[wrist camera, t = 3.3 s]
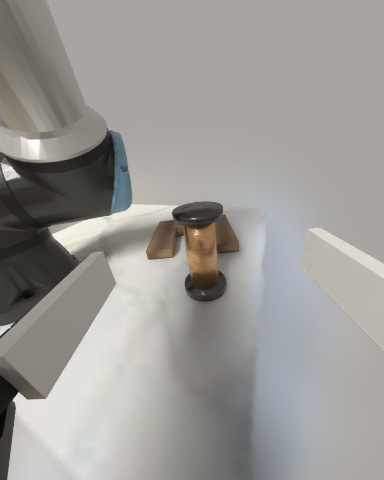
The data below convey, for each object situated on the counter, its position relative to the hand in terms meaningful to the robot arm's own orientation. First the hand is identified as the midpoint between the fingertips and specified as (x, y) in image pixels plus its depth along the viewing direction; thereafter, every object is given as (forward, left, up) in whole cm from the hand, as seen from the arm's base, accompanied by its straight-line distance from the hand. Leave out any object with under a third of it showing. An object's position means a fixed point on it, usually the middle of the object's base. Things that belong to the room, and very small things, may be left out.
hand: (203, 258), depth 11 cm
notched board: (-2, +27, -12) cm, 30 cm away
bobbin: (0, +10, -12) cm, 15 cm away
